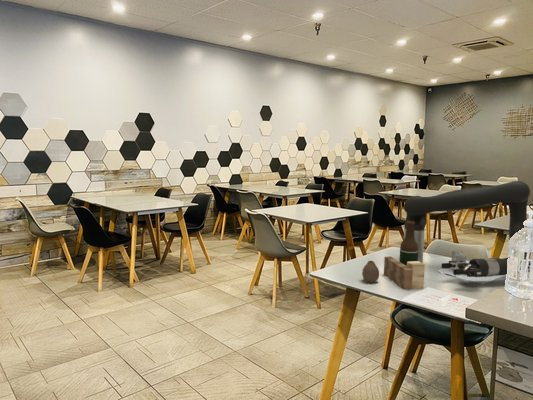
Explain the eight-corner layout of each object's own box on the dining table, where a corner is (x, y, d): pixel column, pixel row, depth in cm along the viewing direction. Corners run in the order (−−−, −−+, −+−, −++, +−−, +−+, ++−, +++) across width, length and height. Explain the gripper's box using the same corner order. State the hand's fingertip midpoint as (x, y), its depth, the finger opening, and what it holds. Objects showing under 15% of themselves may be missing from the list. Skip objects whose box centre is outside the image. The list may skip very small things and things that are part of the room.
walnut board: (383, 273, 183) (384, 256, 182) (390, 273, 183) (390, 256, 182) (404, 289, 163) (405, 270, 162) (411, 289, 163) (412, 269, 162)
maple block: (405, 285, 168) (407, 261, 167) (417, 284, 169) (418, 261, 168) (411, 289, 164) (413, 265, 162) (423, 288, 164) (424, 264, 163)
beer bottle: (417, 272, 185) (420, 220, 182) (416, 277, 178) (419, 223, 175) (399, 270, 188) (402, 219, 185) (397, 275, 181) (400, 222, 178)
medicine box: (465, 274, 183) (466, 255, 182) (454, 273, 184) (456, 254, 183) (460, 268, 191) (462, 251, 190) (450, 268, 192) (451, 250, 191)
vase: (375, 285, 168) (376, 264, 167) (359, 282, 171) (360, 262, 170) (380, 280, 174) (381, 260, 172) (365, 277, 177) (365, 258, 176)
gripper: (473, 254, 176) (438, 255, 174) (496, 263, 162) (458, 265, 160) (472, 271, 177) (437, 272, 175) (494, 281, 163) (457, 283, 161)
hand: (447, 269), depth 167 cm, fingers open, 8 cm apart
